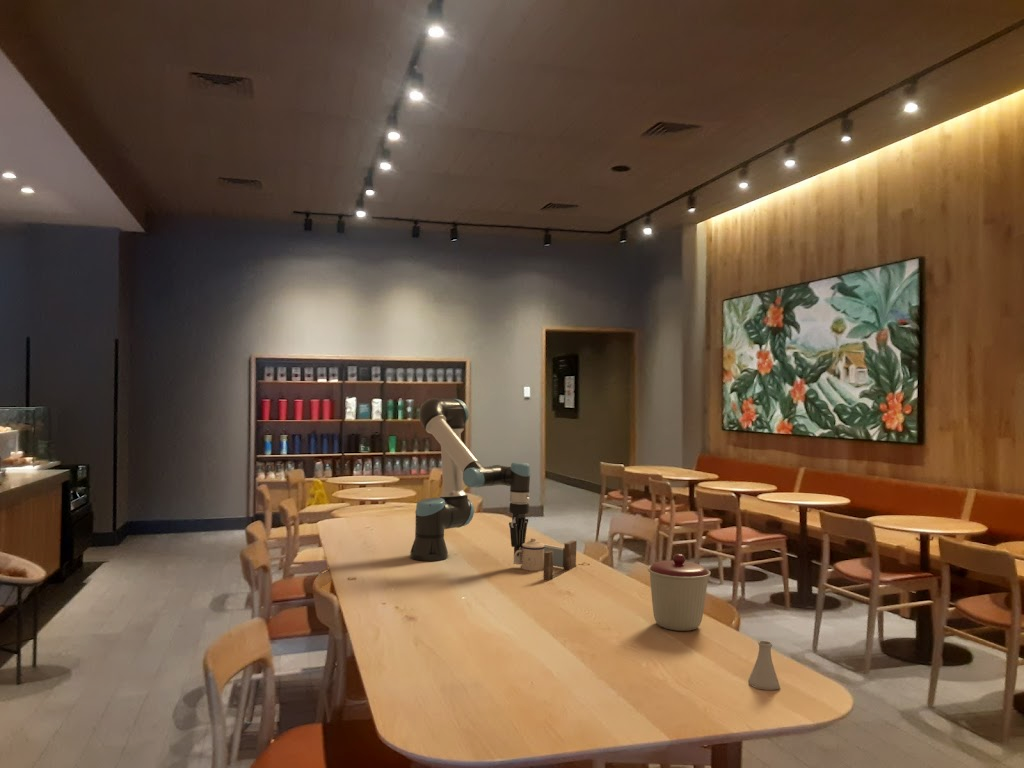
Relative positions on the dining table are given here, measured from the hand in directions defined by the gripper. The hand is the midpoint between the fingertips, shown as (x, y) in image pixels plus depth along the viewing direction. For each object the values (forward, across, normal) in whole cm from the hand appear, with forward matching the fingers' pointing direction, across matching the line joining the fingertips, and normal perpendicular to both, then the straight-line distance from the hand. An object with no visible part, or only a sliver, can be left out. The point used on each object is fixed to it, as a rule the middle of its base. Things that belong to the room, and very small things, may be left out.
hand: (517, 563), depth 295 cm
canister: (+1, -44, -73) cm, 85 cm away
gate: (+1, +9, -10) cm, 13 cm away
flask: (+1, -80, -102) cm, 129 cm away
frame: (+1, 0, -18) cm, 18 cm away
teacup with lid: (+2, 0, -5) cm, 5 cm away
